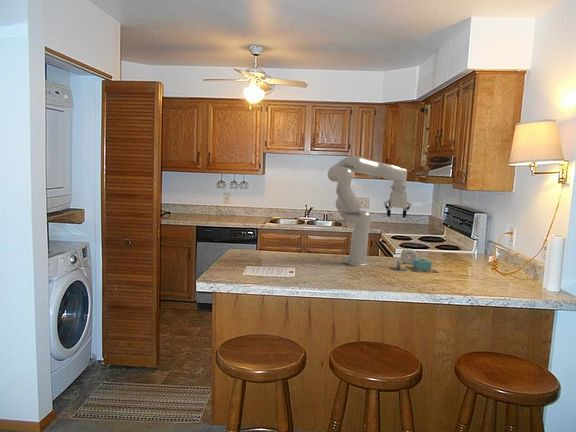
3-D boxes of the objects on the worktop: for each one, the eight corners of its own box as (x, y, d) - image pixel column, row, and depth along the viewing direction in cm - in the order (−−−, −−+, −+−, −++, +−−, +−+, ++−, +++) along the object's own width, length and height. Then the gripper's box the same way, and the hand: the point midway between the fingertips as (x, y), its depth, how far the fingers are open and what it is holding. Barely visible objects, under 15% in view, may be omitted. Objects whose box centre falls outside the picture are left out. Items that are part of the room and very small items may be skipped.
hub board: (414, 273, 240) (415, 261, 239) (405, 268, 252) (406, 256, 251) (438, 274, 242) (439, 262, 242) (427, 269, 254) (429, 257, 253)
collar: (418, 270, 243) (419, 261, 242) (412, 267, 250) (413, 258, 249) (430, 270, 244) (431, 261, 243) (424, 267, 251) (425, 259, 250)
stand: (393, 272, 239) (394, 262, 238) (386, 268, 249) (387, 258, 248) (410, 273, 241) (411, 262, 240) (402, 269, 250) (403, 258, 250)
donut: (415, 264, 265) (417, 248, 264) (417, 266, 262) (419, 249, 261) (399, 263, 265) (400, 247, 264) (400, 265, 262) (402, 248, 261)
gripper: (387, 188, 259) (384, 216, 261) (415, 190, 261) (412, 218, 263) (383, 187, 266) (380, 215, 268) (409, 189, 269) (407, 217, 270)
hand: (396, 217), depth 265 cm, fingers open, 9 cm apart
